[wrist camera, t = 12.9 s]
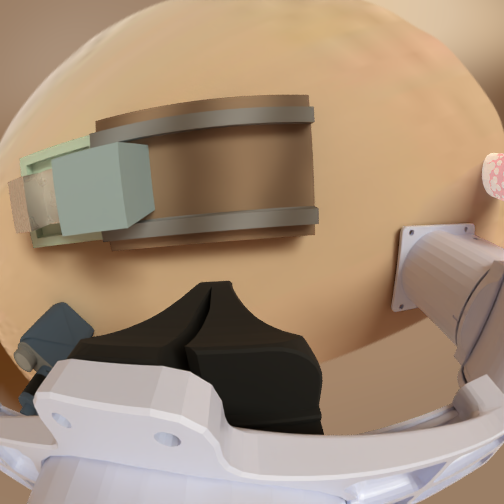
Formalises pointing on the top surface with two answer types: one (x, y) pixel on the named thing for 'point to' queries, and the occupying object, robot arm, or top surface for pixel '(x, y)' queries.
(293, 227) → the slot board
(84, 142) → the chip tray
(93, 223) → the sage green cube
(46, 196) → the chip
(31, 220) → the chip
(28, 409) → the vaping device
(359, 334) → the top surface
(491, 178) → the beverage cup
